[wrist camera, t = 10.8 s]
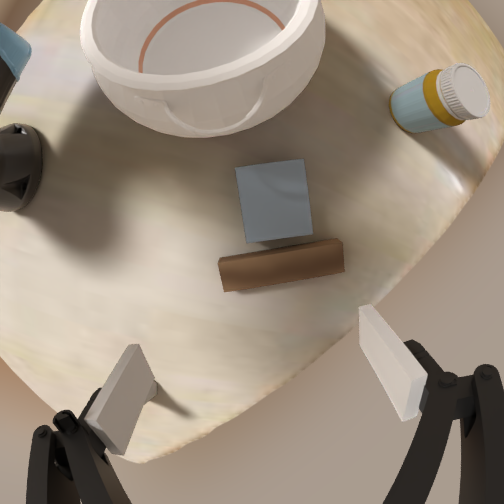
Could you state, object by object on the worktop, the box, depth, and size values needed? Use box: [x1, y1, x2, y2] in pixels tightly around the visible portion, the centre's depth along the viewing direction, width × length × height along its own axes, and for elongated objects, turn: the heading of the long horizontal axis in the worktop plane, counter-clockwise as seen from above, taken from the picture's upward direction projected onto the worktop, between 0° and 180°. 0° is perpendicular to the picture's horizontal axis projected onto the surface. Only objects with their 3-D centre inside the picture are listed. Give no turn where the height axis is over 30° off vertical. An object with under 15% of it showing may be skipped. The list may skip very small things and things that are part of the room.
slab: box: [235, 159, 313, 243], centre depth 34 cm, size 4×8×9 cm
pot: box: [80, 0, 325, 138], centre depth 23 cm, size 29×26×16 cm
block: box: [218, 238, 345, 292], centre depth 37 cm, size 4×16×2 cm, turn 100°
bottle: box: [389, 63, 490, 133], centre depth 25 cm, size 7×7×15 cm
